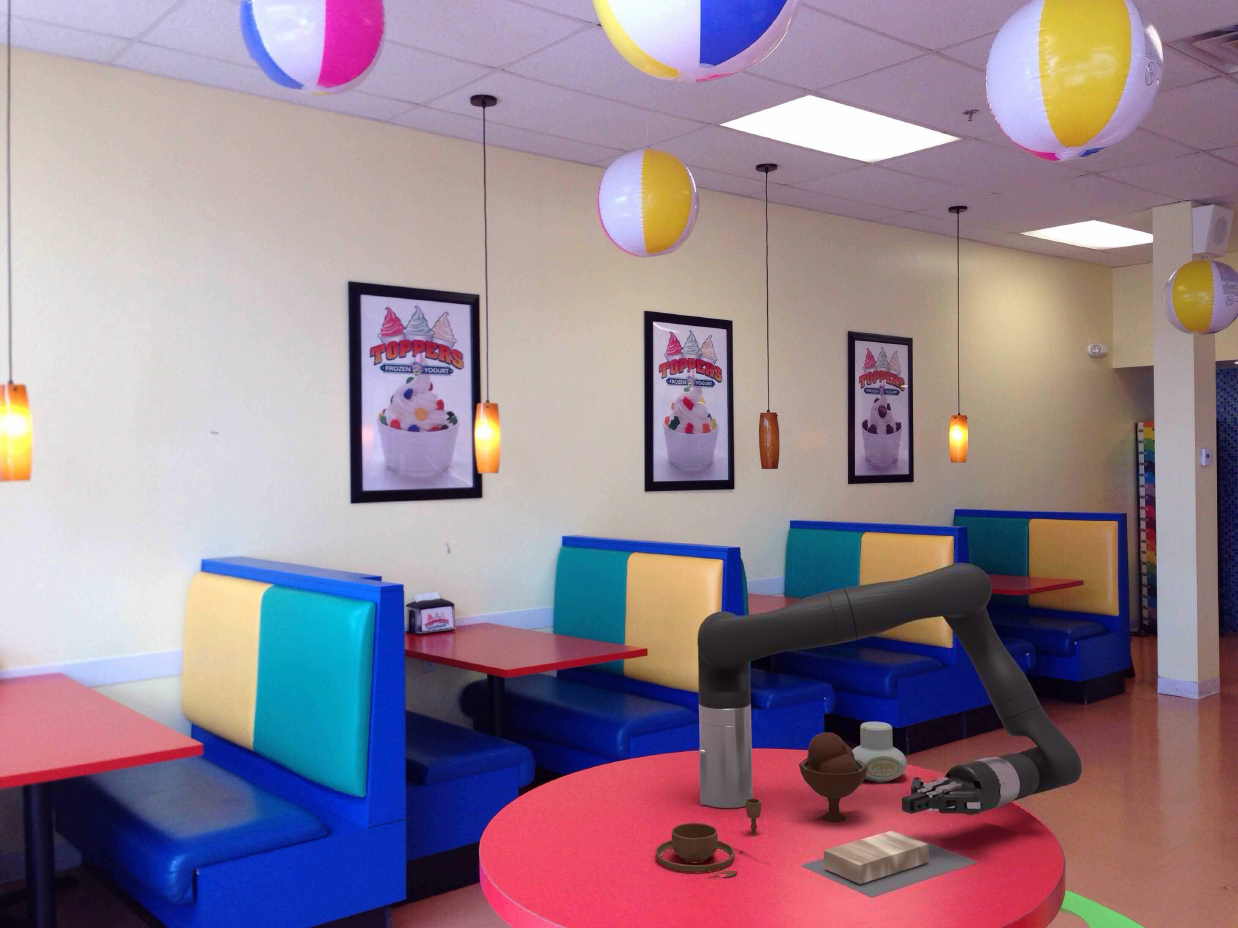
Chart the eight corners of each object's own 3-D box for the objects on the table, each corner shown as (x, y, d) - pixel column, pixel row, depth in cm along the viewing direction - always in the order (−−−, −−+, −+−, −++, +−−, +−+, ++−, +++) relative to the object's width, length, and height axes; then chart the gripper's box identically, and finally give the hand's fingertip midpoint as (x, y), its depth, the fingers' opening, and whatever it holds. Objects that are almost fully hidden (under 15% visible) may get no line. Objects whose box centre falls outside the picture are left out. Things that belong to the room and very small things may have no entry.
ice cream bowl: (870, 834, 163) (868, 740, 164) (799, 831, 166) (797, 738, 166) (867, 813, 174) (865, 724, 174) (800, 810, 176) (799, 722, 176)
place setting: (640, 846, 162) (639, 808, 162) (757, 832, 167) (756, 796, 167) (676, 888, 145) (675, 847, 145) (805, 871, 150) (804, 831, 150)
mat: (871, 903, 137) (871, 897, 137) (800, 870, 149) (800, 864, 149) (979, 866, 149) (978, 861, 149) (904, 839, 161) (904, 834, 161)
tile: (929, 863, 149) (859, 885, 141) (892, 849, 154) (824, 870, 147) (928, 843, 149) (859, 864, 141) (891, 830, 155) (823, 849, 147)
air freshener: (899, 770, 198) (898, 718, 199) (912, 783, 190) (911, 729, 190) (843, 772, 198) (842, 720, 198) (854, 785, 190) (853, 730, 190)
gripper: (947, 751, 166) (871, 769, 157) (1018, 770, 155) (940, 791, 145) (949, 798, 166) (872, 819, 157) (1019, 819, 155) (942, 844, 145)
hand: (905, 805), depth 151 cm, fingers closed
